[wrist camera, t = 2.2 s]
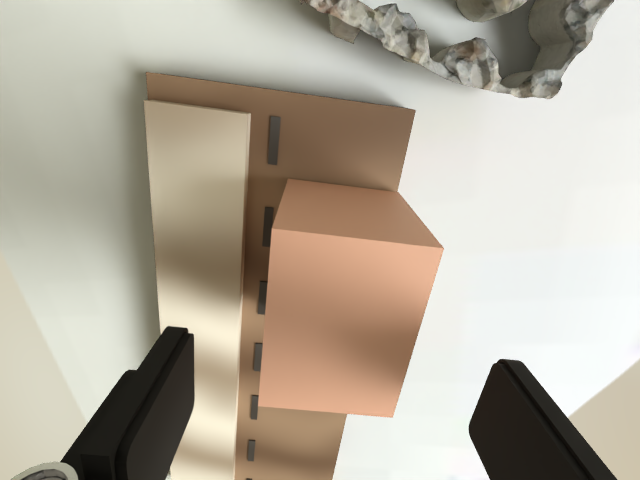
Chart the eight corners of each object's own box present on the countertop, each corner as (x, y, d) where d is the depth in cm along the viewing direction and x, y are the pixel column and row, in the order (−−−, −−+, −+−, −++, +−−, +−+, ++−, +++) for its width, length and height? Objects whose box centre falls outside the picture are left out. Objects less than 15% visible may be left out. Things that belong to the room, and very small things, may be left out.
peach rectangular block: (288, 178, 15) (271, 228, 10) (398, 192, 15) (443, 248, 10) (276, 309, 18) (257, 406, 12) (369, 318, 18) (392, 417, 13)
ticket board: (161, 73, 15) (136, 70, 13) (407, 108, 16) (421, 111, 13) (182, 477, 26) (170, 512, 24) (324, 487, 27) (325, 522, 25)
